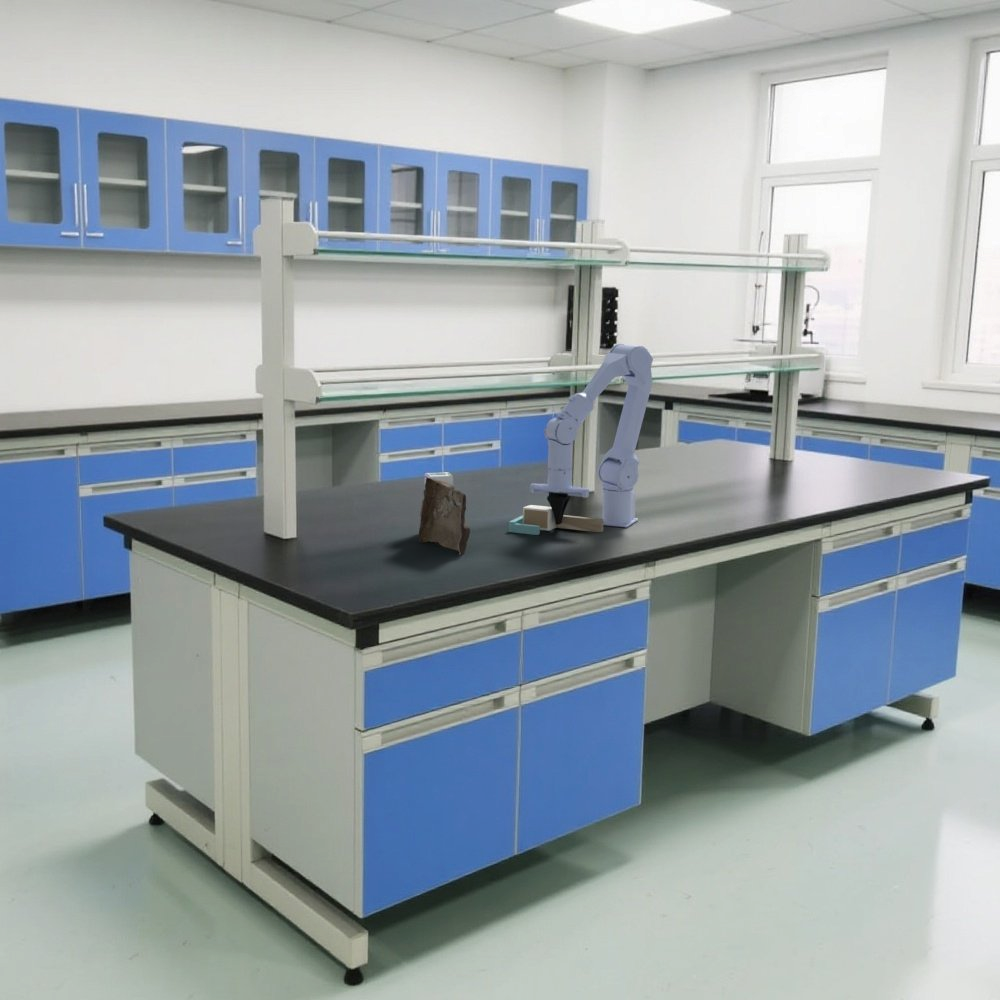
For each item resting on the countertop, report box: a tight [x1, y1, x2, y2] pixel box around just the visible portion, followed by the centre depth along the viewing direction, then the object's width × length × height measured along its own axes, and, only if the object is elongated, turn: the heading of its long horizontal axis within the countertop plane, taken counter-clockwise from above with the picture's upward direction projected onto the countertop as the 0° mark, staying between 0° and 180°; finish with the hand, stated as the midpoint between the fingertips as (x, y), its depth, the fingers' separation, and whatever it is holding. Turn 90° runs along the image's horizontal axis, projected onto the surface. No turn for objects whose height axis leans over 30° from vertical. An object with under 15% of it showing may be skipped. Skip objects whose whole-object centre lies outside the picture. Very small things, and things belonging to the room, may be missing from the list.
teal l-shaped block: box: [508, 514, 541, 536], centre depth 268 cm, size 10×8×2 cm
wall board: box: [555, 514, 604, 533], centre depth 270 cm, size 1×20×3 cm, turn 65°
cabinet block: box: [522, 504, 557, 532], centre depth 269 cm, size 5×7×5 cm
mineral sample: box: [418, 478, 471, 556], centre depth 247 cm, size 17×4×15 cm, turn 36°
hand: (558, 523), depth 268 cm, fingers closed
